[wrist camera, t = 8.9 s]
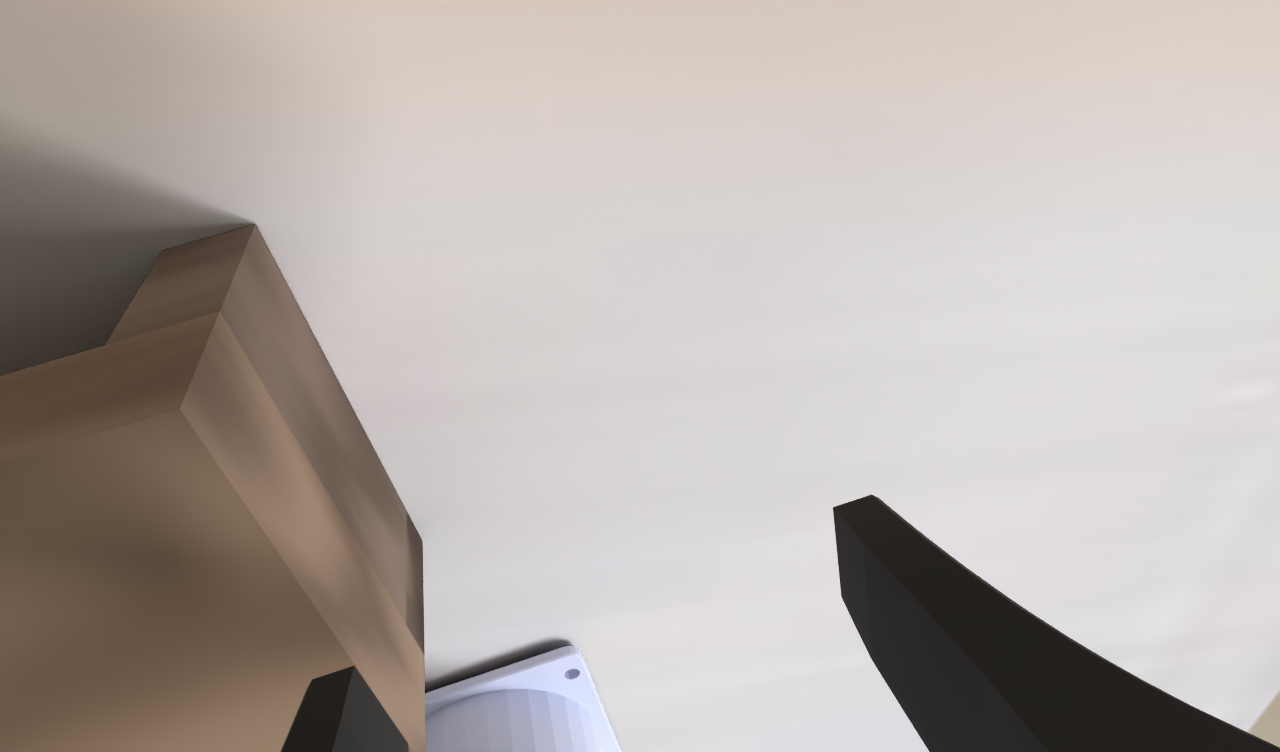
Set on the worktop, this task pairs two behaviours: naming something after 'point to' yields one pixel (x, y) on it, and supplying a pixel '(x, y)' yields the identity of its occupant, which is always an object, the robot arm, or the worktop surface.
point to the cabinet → (197, 527)
